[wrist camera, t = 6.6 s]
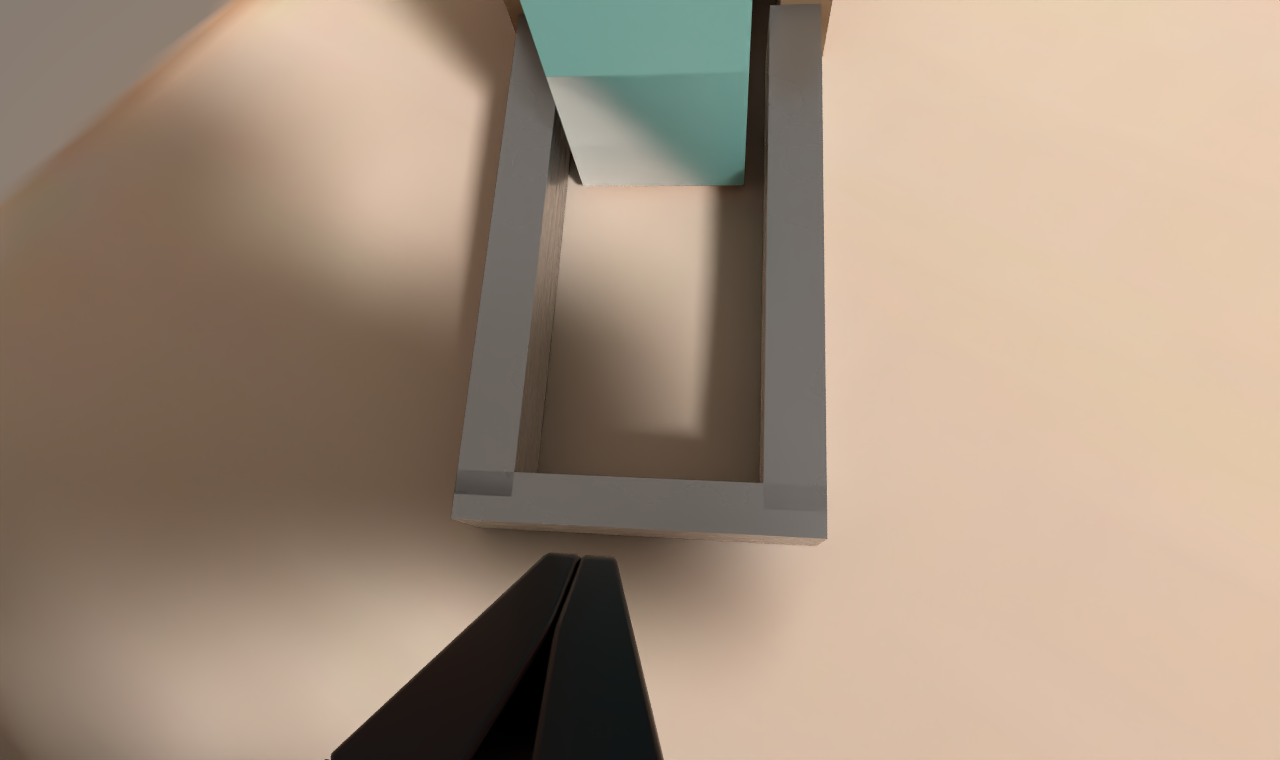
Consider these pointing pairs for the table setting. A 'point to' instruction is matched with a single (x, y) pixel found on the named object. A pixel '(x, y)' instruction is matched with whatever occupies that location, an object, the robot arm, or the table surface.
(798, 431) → the rails
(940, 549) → the table surface
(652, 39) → the teal block
